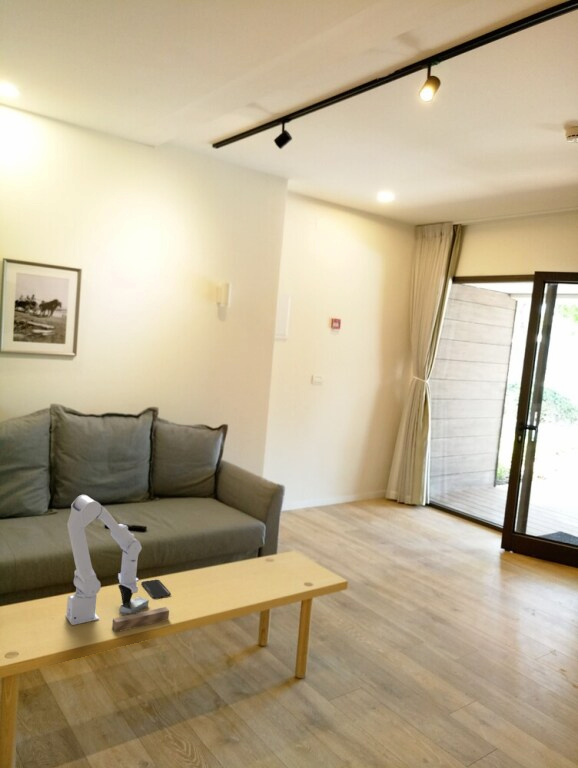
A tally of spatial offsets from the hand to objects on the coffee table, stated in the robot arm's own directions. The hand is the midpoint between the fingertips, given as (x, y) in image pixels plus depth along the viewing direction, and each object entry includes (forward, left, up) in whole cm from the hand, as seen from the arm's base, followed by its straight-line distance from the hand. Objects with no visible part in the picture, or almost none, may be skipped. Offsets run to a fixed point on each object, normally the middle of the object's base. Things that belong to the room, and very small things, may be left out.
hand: (125, 603), depth 211 cm
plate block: (+2, -4, -2) cm, 4 cm away
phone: (+16, +8, -2) cm, 18 cm away
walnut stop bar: (0, -15, -1) cm, 15 cm away
